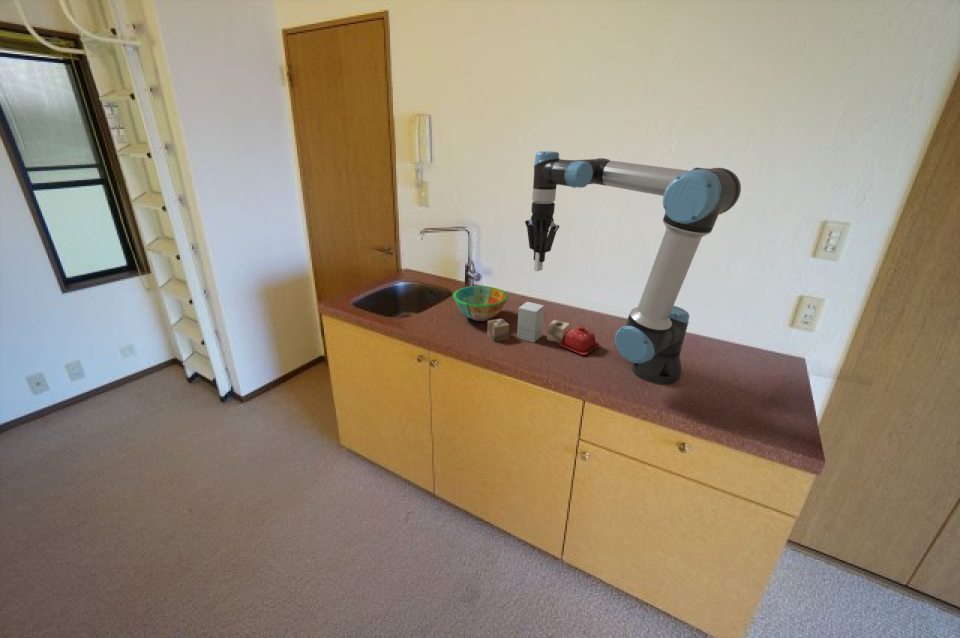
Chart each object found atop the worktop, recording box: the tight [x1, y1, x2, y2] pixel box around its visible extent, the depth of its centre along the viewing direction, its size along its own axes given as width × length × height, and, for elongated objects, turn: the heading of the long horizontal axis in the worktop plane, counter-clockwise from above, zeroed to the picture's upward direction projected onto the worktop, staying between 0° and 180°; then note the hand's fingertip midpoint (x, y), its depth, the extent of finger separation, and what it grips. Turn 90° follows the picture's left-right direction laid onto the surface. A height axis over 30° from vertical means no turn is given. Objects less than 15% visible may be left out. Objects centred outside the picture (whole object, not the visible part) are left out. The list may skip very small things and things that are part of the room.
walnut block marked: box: [486, 318, 510, 342], centre depth 157 cm, size 6×6×6 cm
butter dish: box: [558, 325, 601, 356], centre depth 151 cm, size 12×12×8 cm
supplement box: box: [516, 301, 545, 344], centre depth 156 cm, size 7×7×13 cm
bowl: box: [452, 285, 509, 322], centre depth 172 cm, size 22×22×10 cm
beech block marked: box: [546, 319, 570, 344], centre depth 157 cm, size 6×6×6 cm
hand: (538, 270), depth 148 cm, fingers closed
